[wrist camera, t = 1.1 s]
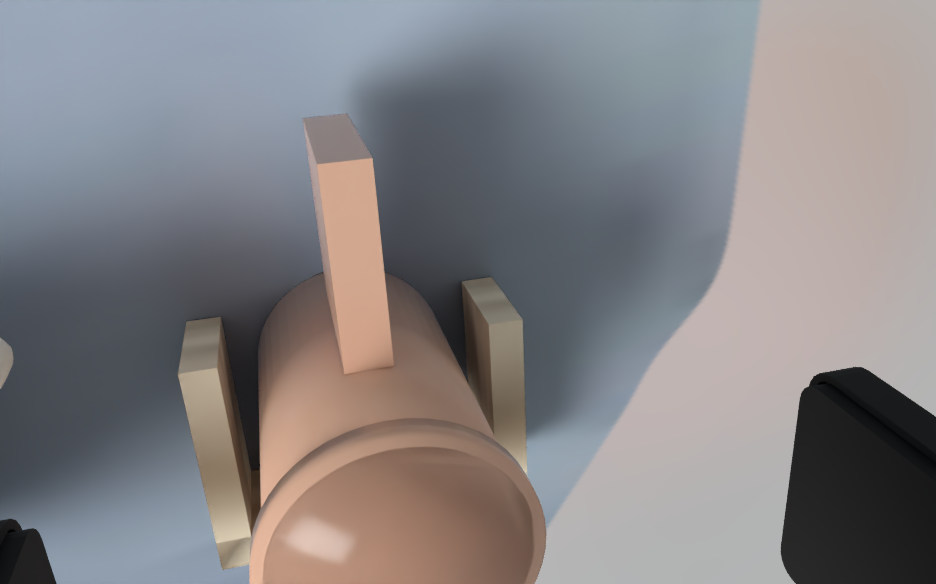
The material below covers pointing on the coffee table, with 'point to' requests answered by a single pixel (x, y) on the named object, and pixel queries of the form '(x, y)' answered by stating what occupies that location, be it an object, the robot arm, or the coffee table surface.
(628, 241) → the coffee table surface
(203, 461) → the holder
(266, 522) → the peach cylinder
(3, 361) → the pitcher
